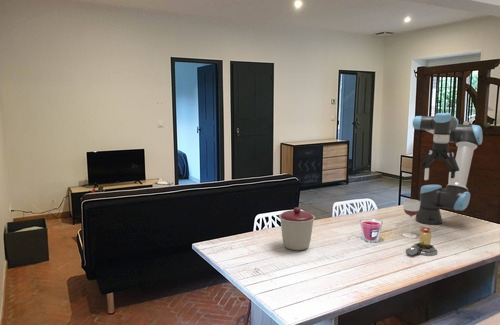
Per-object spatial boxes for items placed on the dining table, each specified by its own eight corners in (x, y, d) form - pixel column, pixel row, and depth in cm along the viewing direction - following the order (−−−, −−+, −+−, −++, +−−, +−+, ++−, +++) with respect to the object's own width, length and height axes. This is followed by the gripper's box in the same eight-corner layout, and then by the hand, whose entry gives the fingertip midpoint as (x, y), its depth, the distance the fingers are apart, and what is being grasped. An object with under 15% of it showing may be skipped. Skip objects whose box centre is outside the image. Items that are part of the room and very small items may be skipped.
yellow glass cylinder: (422, 246, 188) (424, 226, 186) (431, 249, 184) (433, 229, 182) (416, 248, 185) (418, 228, 184) (425, 251, 181) (427, 230, 180)
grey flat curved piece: (420, 244, 193) (420, 237, 192) (442, 252, 183) (442, 245, 182) (398, 251, 184) (398, 244, 183) (419, 260, 173) (420, 252, 173)
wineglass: (416, 239, 201) (418, 203, 198) (399, 235, 206) (401, 201, 203) (419, 235, 208) (422, 200, 205) (403, 231, 213) (405, 198, 210)
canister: (313, 255, 180) (314, 213, 177) (276, 252, 184) (277, 211, 180) (314, 241, 197) (315, 203, 194) (281, 239, 201) (281, 202, 198)
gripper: (415, 141, 203) (412, 178, 206) (460, 144, 182) (457, 186, 185) (423, 140, 207) (421, 177, 210) (469, 144, 186) (465, 185, 189)
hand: (438, 181), depth 197 cm, fingers open, 13 cm apart
